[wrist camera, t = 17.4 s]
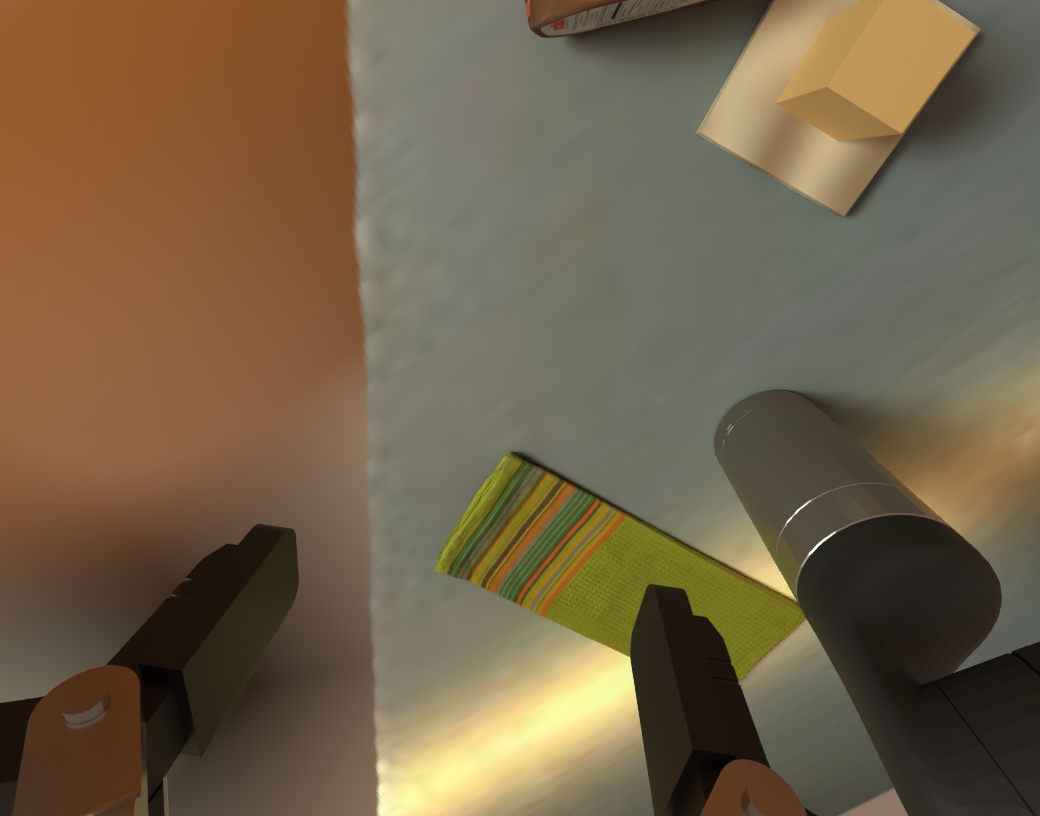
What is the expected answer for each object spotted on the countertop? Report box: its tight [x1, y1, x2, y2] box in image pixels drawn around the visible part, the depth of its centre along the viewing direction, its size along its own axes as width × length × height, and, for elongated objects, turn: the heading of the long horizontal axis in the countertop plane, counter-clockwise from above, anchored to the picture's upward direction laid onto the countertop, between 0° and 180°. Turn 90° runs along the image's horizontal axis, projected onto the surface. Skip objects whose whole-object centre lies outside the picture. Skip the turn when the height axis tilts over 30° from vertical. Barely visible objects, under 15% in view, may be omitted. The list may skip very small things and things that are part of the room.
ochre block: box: [776, 0, 975, 141], centre depth 30 cm, size 5×5×7 cm
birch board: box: [696, 0, 981, 216], centre depth 33 cm, size 12×12×1 cm
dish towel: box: [435, 452, 805, 682], centre depth 52 cm, size 15×36×3 cm, turn 61°
